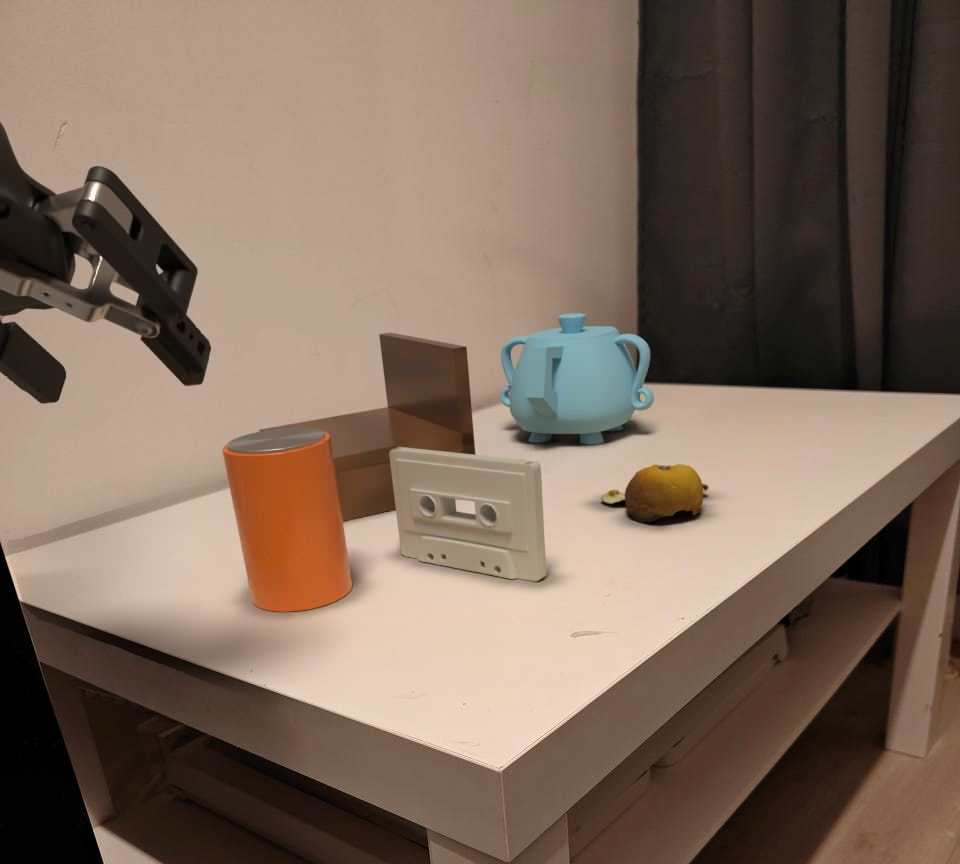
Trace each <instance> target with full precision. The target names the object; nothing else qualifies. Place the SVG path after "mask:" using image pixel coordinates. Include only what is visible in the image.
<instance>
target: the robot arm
mask: <svg viewBox="0 0 960 864" xmlns="http://www.w3.org/2000/svg"><path fill="white" fill-rule="evenodd" d="M75 255H77V256H79V257H81V258H83V259H85V260H87V262H89V264H90V266H91V267H92V273H91V276H90V279H89V282H88V286H87V287H86V288H77V287H75V286H73V285H71V284H72V281H73V278H74V277H75V276H74V275H75V272H76V267H77V263H76V256H75ZM157 267H158V268H159V269H160V270H161V272H160V273H159V272H158V269H157ZM198 273H199V270H198V267H197V266H196V264H195V263H194V262H193V261H192V260H191V259H190V258H189V256H188V255H187V254H186V252H184V251H183V249H181V247H180V246H179V245H178V243H176V241H174V239H173V238H172V237H171V236H170V235H169V233H168V232H167V231H166V230H165V229H164V227H163V226H162V225H161V224H160V223H159V222H158V221H157V220H156V219H155V217H154V216H153V215H152V213H150V211H149V210H148V209H147V208H146V207H145V206H144V205H143V203H141V201H140V200H139V199H138V198H137V197H136V195H135V194H134V193H133V192H132V191H131V190H130V189H129V188H128V186H127V185H126V184H125V183H124V182H123V181H122V179H120V177H119V176H118V175H117V174H116V173H115V172H114V171H112V170H111V169H109V168H107V167H105V166H101V165H94V166H92V167H90V168H89V169H88V172H87V175H86V176H85V180H84V183H83V186H81V187H78V188H75V189H72V190H68V191H65V192H61V193H55V191H53V190H52V189H50V188H48V187H47V186H45V185H43V184H42V183H41V182H39V181H37V180H36V179H34V178H33V177H32V176H30V175H29V174H28V173H27V172H25V170H24V169H23V168H22V166H21V165H20V163H19V161H18V159H17V157H16V154H15V152H14V150H13V147H12V145H11V142H10V139H9V136H8V134H7V131H6V129H5V127H4V125H3V123H2V122H1V121H0V373H1V374H2V375H3V376H4V377H6V378H7V379H8V380H9V381H10V382H12V383H13V384H14V385H15V386H16V387H18V388H19V389H20V390H21V391H23V392H26V393H27V394H28V395H30V396H31V397H32V398H33V399H34V400H35V401H37V402H38V403H40V404H42V405H45V404H53V403H54V404H55V403H57V402H58V401H59V400H60V398H61V395H62V392H63V390H64V389H63V388H64V385H65V382H66V380H67V371H66V368H65V366H64V365H63V364H62V363H61V362H60V361H59V360H58V359H57V358H55V356H53V355H52V354H51V353H50V352H49V351H48V350H47V349H46V348H44V347H43V345H41V343H39V342H38V341H37V340H36V339H35V338H34V337H32V336H31V335H30V334H29V332H27V331H26V330H25V329H24V328H23V327H22V326H20V325H19V324H18V323H17V322H16V321H9V322H3V319H4V317H7V316H12V315H17V314H19V313H21V312H22V311H25V310H43V311H44V310H45V311H46V310H52V309H57V310H59V311H61V312H64V313H65V314H68V315H69V316H73V317H75V318H76V319H79V320H81V321H84V322H86V323H96V322H98V321H99V320H106V321H108V322H110V323H112V324H114V325H116V326H119V327H121V328H124V329H126V330H128V331H130V332H132V333H134V334H137V335H139V336H140V341H141V343H143V344H144V345H145V346H146V347H147V348H148V349H149V350H150V351H151V352H152V353H153V354H154V355H155V356H156V358H157V359H158V360H159V361H160V362H161V363H162V364H163V365H164V366H165V367H166V368H167V369H168V370H169V371H170V372H171V374H173V376H174V377H176V378H177V380H178V381H179V382H180V383H181V384H182V385H183V386H185V387H192V386H200V385H202V384H203V383H204V380H205V377H206V373H207V368H208V366H209V365H208V364H209V360H210V355H211V351H212V346H211V343H210V340H209V339H208V338H207V337H206V336H205V335H204V333H202V331H201V330H200V329H199V328H198V327H197V325H196V324H195V323H194V321H192V319H191V318H190V316H189V315H187V313H188V311H189V307H190V306H189V305H190V303H191V299H192V295H193V292H194V288H195V284H196V280H197V277H198ZM112 283H113V284H118V285H120V286H121V287H123V288H126V289H128V290H130V291H132V292H135V293H137V294H138V296H137V300H136V303H135V304H134V303H131V302H129V301H127V300H124V299H122V298H120V297H118V296H116V295H114V294H113V293H112V291H111V285H112Z"/></svg>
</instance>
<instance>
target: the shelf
mask: <svg viewBox="0 0 960 864" xmlns="http://www.w3.org/2000/svg"><path fill="white" fill-rule="evenodd" d="M378 336H379V346H380V353H381V361H382V362H381V363H382V371H383V378H384V379H383V380H384V387H385V394H386V404H387V406H386V407H380V408H376V409H375V408H374V409H369V410H368V409H367V410H364V411H357V412H352V413H347V414H346V413H345V414H340V415H335V416H329V417H323V418H317V419H313V420H311V419H310V420H306V421H301V422H294V423H289V424H284V425H283V424H282V425H278V426H273V427H266V428H262V429H261V428H260V429H259V431H258V432H261V431H267V430H274V429H283V428H314V429H319V430H322V431H324V432H326V433H328V434H329V435H330V438H331V445H332V452H333V459H334V465H335V472H336V479H337V486H338V493H339V499H340V506H341V513H342V520H343V522H346V521H349V520H355V519H358V518H363V517H368V516H373V515H377V514H381V513H382V514H383V513H385V512H390V511H394V510H395V511H396V506H395V498H394V489H393V481H392V473H391V465H390V456H389V453H390V451H391V450H393V449H396V448H398V447H405V448H415V449H424V450H434V451H443V452H453V453H462V454H472V455H476V446H475V445H476V444H475V433H474V432H475V431H474V421H473V409H472V408H473V407H472V396H471V384H470V372H469V361H468V348H467V346H465V345H459V344H454V343H448V342H444V341H439V340H433V339H427V338H421V337H416V336H411V335H405V334H401V333H395V332H383V333H379V334H378Z"/></svg>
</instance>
